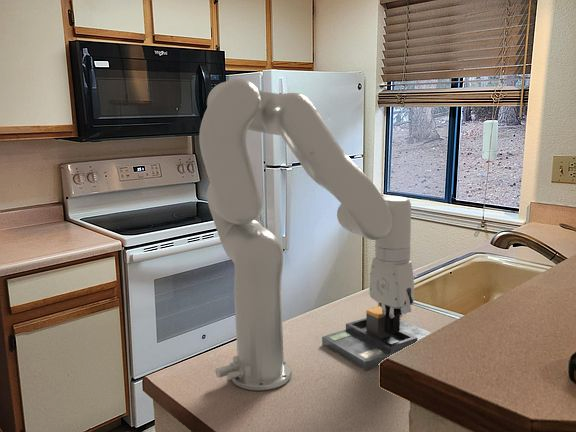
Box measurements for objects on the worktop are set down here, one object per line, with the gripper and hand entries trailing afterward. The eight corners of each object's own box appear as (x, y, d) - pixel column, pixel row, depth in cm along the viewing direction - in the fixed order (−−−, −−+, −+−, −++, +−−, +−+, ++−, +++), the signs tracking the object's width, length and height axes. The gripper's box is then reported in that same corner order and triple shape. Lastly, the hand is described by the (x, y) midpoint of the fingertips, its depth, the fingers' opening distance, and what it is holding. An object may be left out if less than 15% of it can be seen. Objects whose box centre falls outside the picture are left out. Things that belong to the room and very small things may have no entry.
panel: (365, 370, 111) (365, 355, 110) (322, 344, 124) (321, 330, 123) (439, 344, 122) (439, 330, 122) (392, 322, 135) (392, 310, 135)
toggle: (377, 340, 120) (377, 315, 119) (366, 334, 124) (366, 309, 123) (391, 335, 122) (391, 311, 121) (379, 330, 126) (379, 306, 125)
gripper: (357, 248, 120) (357, 325, 123) (404, 263, 107) (402, 348, 111) (382, 243, 124) (382, 318, 127) (430, 257, 111) (428, 339, 114)
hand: (391, 331), depth 119 cm, fingers closed
